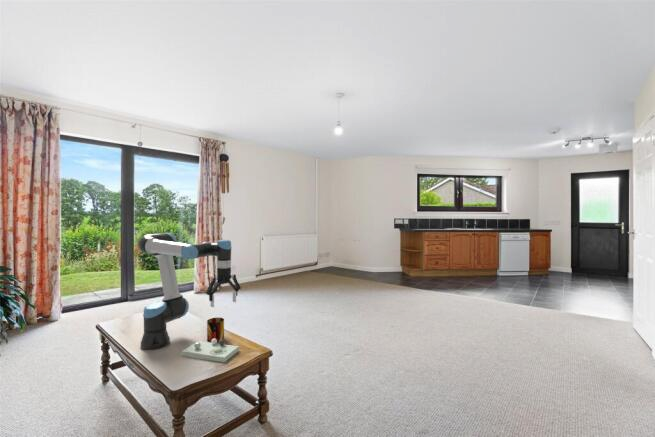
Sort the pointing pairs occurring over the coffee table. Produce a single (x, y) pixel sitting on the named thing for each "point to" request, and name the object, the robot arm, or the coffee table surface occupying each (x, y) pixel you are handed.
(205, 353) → the board
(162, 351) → the coffee table surface
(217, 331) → the mug
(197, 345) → the steel ball
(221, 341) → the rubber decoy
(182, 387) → the coffee table surface
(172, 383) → the coffee table surface
